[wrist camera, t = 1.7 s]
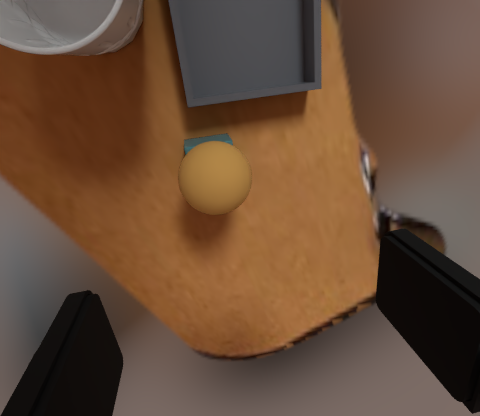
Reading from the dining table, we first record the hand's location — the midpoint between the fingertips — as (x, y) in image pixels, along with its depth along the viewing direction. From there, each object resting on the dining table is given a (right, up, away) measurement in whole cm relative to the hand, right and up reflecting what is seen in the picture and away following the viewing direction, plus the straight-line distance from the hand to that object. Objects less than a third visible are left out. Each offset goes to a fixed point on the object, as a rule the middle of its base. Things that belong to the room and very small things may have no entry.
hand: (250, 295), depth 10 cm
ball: (-2, +5, +11) cm, 12 cm away
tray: (0, +18, +12) cm, 21 cm away
